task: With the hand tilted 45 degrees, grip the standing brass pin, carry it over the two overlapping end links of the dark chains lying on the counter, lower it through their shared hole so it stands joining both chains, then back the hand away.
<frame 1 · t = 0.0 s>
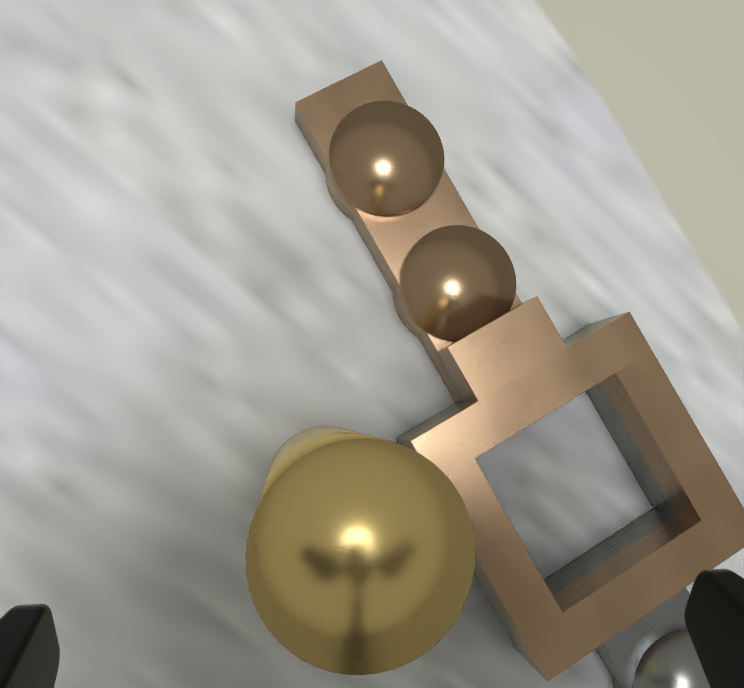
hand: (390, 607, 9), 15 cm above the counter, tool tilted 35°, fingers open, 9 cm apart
brass pin: (325, 483, 24), on the counter
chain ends: (554, 481, 25), on the counter
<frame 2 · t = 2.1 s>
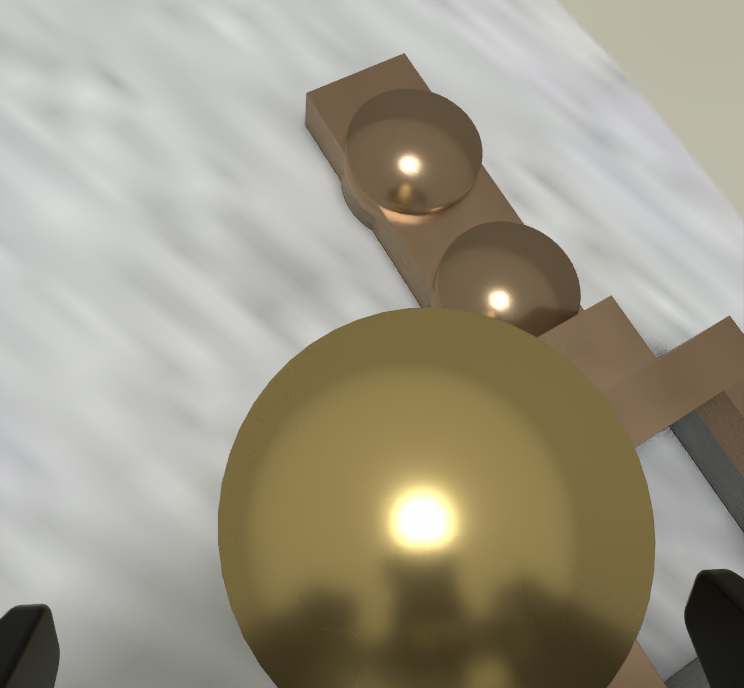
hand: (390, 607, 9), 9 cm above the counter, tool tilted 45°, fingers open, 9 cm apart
brass pin: (342, 555, 18), on the counter
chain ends: (648, 552, 19), on the counter
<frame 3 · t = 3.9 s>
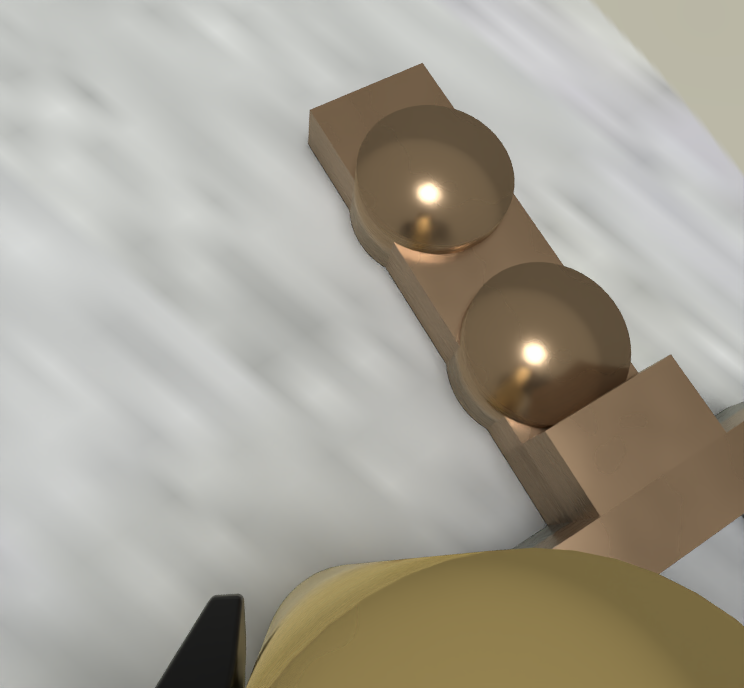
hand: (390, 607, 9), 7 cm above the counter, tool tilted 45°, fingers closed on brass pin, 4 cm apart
brass pin: (353, 658, 15), on the counter, touching gripper
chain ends: (708, 649, 16), on the counter
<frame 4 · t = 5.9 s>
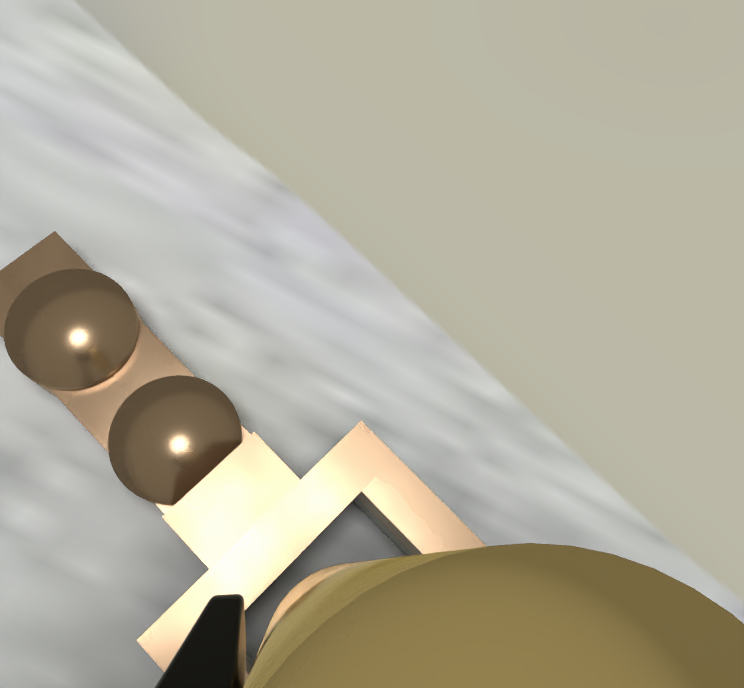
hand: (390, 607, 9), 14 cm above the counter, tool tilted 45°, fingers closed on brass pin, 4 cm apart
brass pin: (352, 657, 15), point 7 cm above the counter, touching gripper
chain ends: (352, 627, 22), on the counter
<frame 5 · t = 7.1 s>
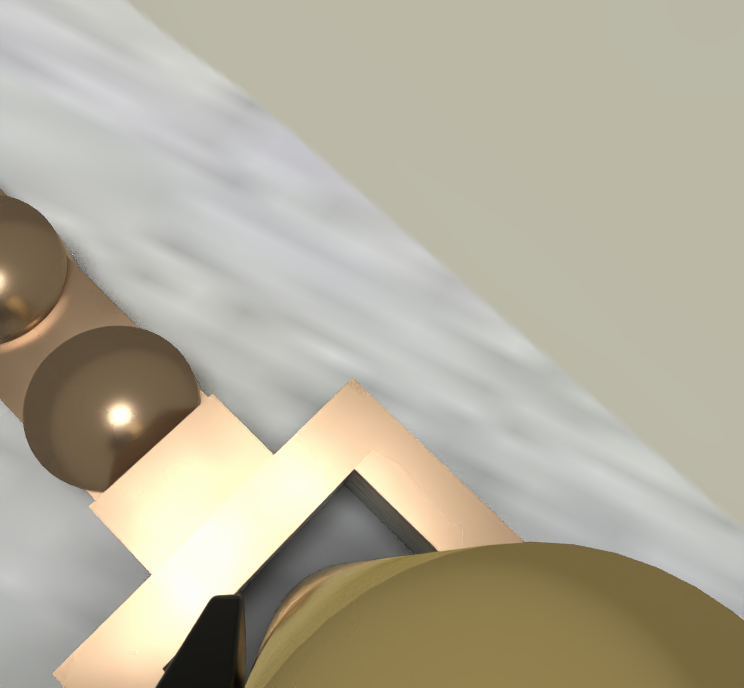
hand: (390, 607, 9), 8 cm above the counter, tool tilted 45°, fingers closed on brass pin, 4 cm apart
brass pin: (353, 657, 15), point 2 cm above the counter, touching gripper
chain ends: (346, 644, 17), on the counter
when the fingers open (7 cm above the counter, at t = 8.1 s): brass pin stays where it is, resting in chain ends.
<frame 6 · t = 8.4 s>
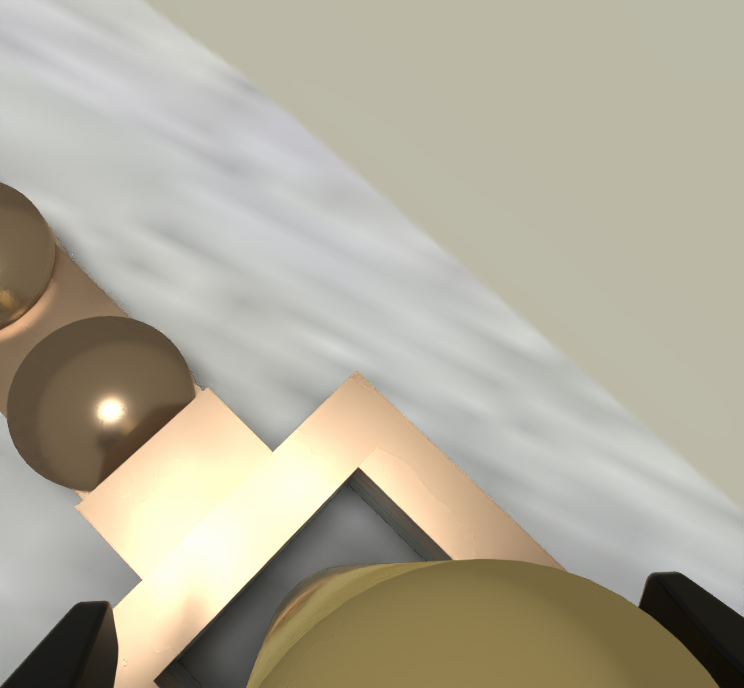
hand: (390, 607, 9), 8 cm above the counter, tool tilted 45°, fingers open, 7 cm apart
brass pin: (349, 654, 16), resting in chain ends
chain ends: (349, 653, 16), on the counter
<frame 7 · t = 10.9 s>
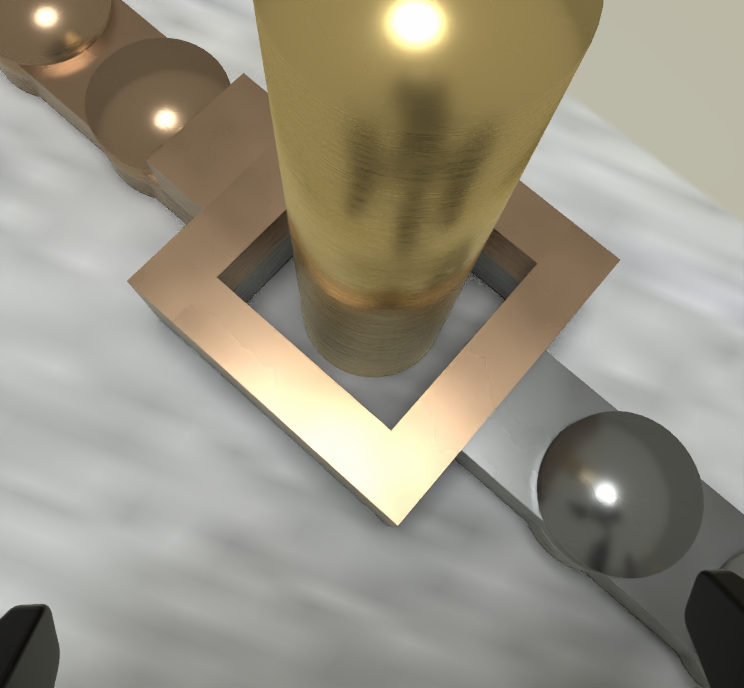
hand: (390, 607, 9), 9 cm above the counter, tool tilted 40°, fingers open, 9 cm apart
brass pin: (372, 308, 20), resting in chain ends
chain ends: (373, 307, 20), on the counter
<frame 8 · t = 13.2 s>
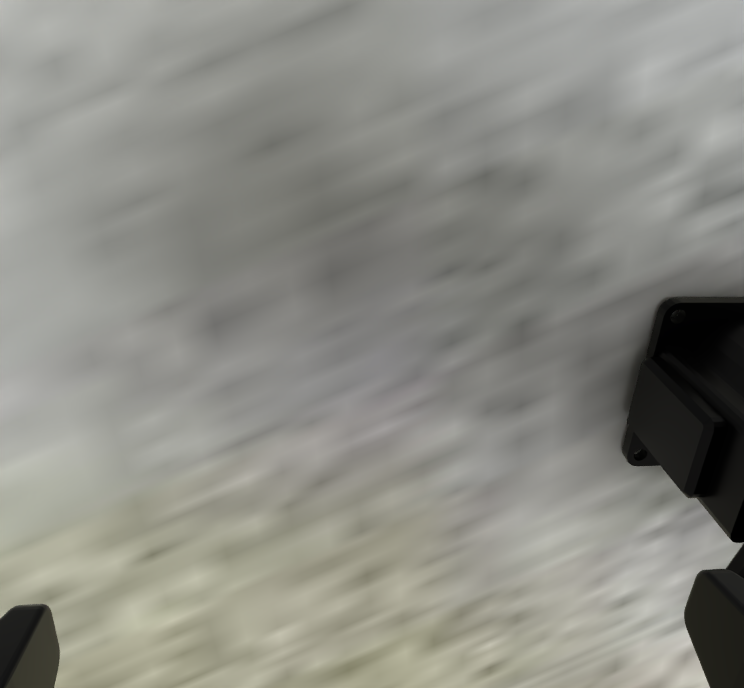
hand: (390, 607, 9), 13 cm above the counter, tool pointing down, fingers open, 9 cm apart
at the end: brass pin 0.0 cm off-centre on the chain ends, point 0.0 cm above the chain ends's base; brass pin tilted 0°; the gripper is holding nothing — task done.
